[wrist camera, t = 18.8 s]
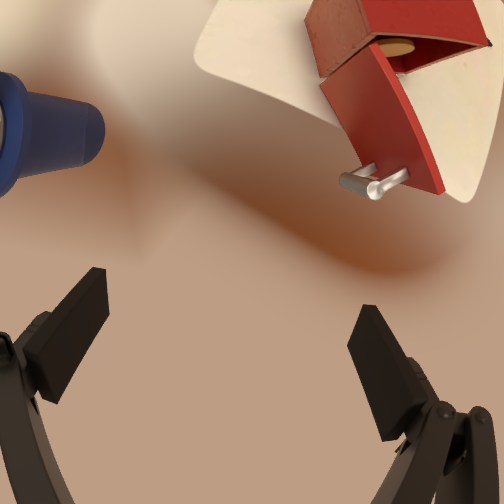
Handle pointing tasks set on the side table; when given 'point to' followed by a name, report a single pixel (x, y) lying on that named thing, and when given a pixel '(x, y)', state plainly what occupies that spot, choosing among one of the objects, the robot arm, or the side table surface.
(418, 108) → the side table surface
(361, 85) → the door
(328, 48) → the cabinet
